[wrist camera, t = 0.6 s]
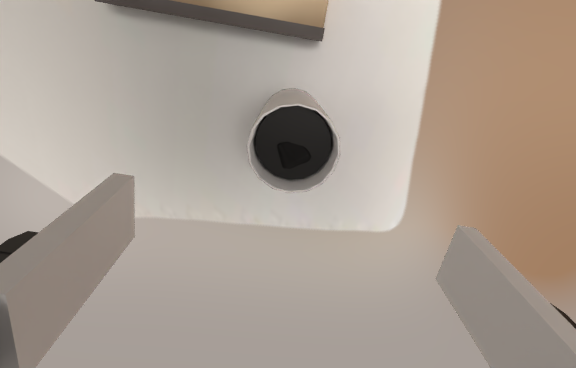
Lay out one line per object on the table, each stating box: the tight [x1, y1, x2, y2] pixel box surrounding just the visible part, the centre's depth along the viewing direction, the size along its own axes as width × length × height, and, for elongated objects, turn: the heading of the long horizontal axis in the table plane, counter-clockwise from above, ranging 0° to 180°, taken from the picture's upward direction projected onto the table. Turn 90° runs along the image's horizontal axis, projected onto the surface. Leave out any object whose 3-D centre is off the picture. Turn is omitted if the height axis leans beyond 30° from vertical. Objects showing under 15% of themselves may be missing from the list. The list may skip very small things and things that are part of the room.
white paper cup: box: [247, 88, 340, 193], centre depth 29 cm, size 7×7×10 cm
